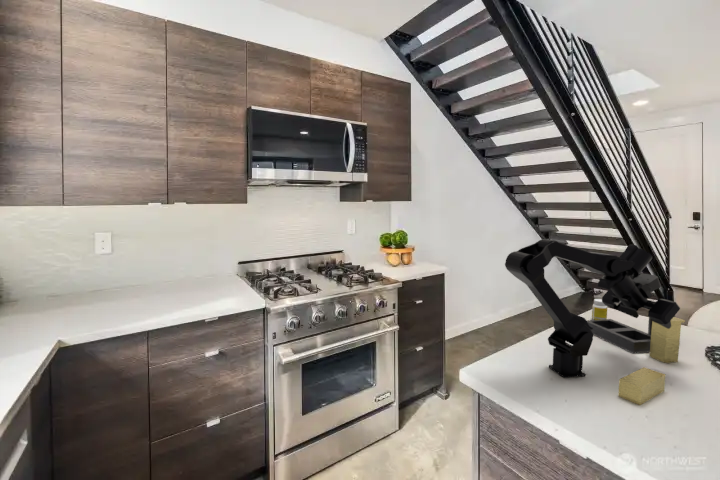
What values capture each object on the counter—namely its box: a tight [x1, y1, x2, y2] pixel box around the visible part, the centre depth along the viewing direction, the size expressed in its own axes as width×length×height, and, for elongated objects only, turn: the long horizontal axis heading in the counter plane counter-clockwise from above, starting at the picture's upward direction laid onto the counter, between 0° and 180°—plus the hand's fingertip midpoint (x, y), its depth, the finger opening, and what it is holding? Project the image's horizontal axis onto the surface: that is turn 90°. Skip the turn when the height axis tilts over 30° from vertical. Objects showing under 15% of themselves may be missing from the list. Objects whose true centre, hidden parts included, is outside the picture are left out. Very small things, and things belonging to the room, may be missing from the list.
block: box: [617, 366, 666, 406], centre depth 87 cm, size 12×4×4 cm, turn 119°
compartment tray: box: [586, 318, 651, 354], centre depth 120 cm, size 10×20×4 cm, turn 8°
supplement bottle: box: [591, 298, 608, 320], centre depth 137 cm, size 5×5×8 cm
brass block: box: [649, 316, 686, 364], centre depth 105 cm, size 6×6×12 cm
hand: (652, 321), depth 103 cm, fingers open, 9 cm apart
